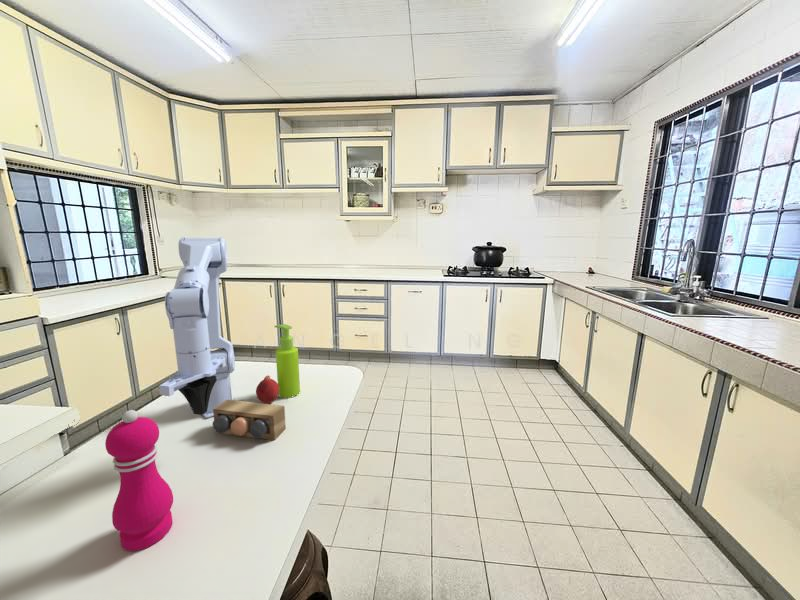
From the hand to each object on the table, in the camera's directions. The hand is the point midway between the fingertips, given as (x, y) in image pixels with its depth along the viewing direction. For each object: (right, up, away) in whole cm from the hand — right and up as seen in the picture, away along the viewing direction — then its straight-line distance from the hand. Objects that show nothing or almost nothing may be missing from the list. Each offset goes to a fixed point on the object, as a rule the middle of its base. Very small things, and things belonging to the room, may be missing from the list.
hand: (200, 412), depth 68 cm
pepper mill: (+3, -13, -17) cm, 22 cm away
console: (+6, -7, +9) cm, 13 cm away
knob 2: (+10, -6, +7) cm, 14 cm away
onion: (+5, -5, +22) cm, 23 cm away
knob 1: (+1, -6, +9) cm, 11 cm away
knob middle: (+6, -6, +8) cm, 12 cm away
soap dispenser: (+8, -4, +28) cm, 30 cm away
